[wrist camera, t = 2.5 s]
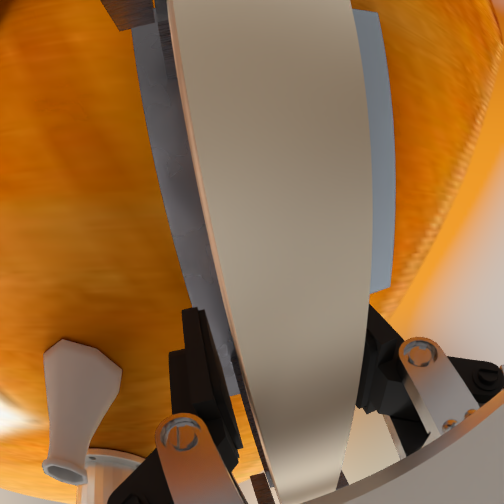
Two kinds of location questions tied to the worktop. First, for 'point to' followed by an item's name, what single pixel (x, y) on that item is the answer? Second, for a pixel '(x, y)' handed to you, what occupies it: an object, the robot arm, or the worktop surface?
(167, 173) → the grey holder stand
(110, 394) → the flask
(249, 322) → the rail
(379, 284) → the mat
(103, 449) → the robot arm
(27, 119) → the worktop surface
